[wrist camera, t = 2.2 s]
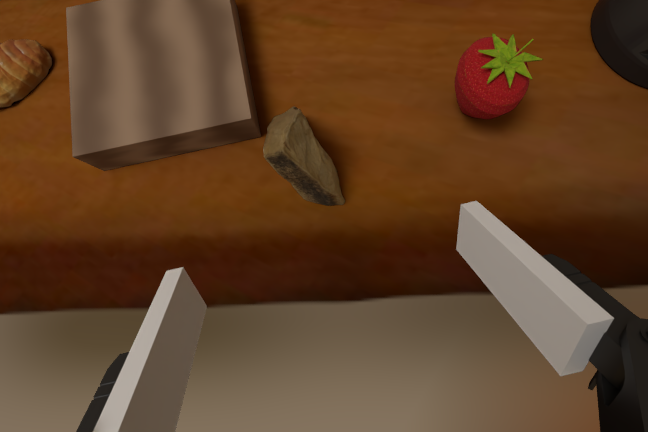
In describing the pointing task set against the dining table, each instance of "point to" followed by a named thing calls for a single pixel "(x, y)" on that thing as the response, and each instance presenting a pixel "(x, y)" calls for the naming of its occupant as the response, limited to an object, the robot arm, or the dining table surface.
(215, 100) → the walnut base
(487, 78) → the strawberry
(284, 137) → the rock
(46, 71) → the pastry
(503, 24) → the dining table surface
